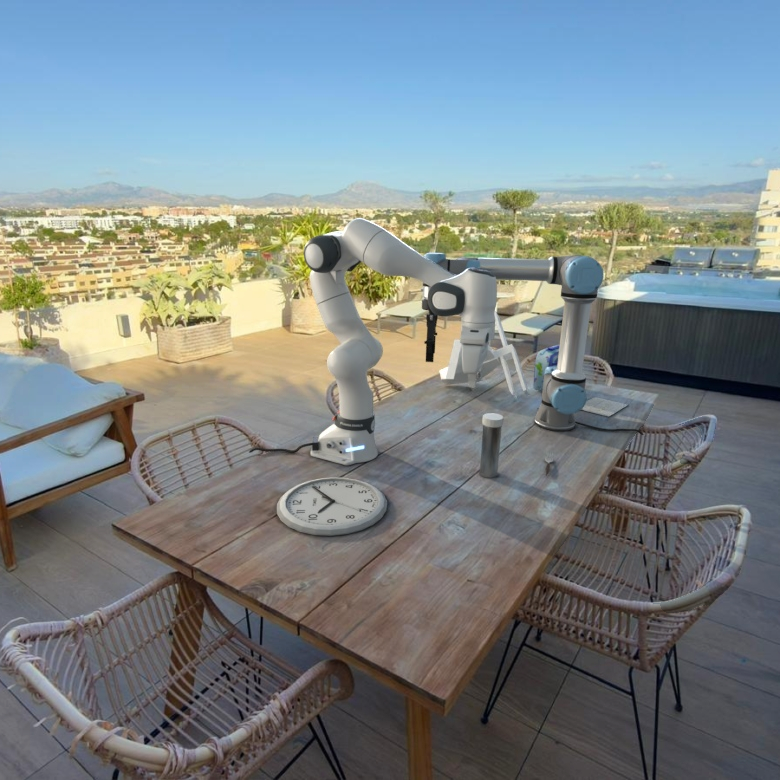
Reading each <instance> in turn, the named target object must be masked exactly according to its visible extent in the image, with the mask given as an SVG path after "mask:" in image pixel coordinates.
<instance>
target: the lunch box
mask: <svg viewBox="0 0 780 780" xmlns="http://www.w3.org/2000/svg"><path fill="white" fill-rule="evenodd" d="M559 346H560V344H556V345H553V346H549V347H546V348H544V349H541V350H539V351H538V353H537V354H536V357H535V361H534V371H533V372H534V373H533V389H534V390H535V391H539V392H543V382H544V373H545V369H546V368H547V367H553V366H557V364H558V355H559Z"/></svg>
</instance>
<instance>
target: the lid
mask: <svg viewBox="0 0 780 780" xmlns="http://www.w3.org/2000/svg"><path fill="white" fill-rule="evenodd" d="M481 418H482V421H481V423H482V426H483V425H485V426H488V427H501V426H503V425H504V416H503V415H502V414H500V413H496V412H495V413H492V412H487V413H484V414H483V415H482V417H481ZM501 428H502V427H501Z"/></svg>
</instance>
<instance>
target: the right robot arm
mask: <svg viewBox="0 0 780 780" xmlns="http://www.w3.org/2000/svg"><path fill="white" fill-rule="evenodd" d="M423 256H424V257H426V258H427V259H429V260H431V261H433V262H434V263H436V264H438V265H439V266H441V267H443V268H444V269H446V270H448V271H449V272H451V273H453V274H455V275H459V274H461V273H463V272H464V271H465V270H466V269H468V268H481V269H486V270H489V271H491V272H492V273H493V274H494V275H495V277H496V281H497V280H499V281H500V280H501V281H526V282H527V281H531V282H546V283H547V284H548V285H557V286H561V289H560V298H561V299H562V300H563V303H564V305H563V313H562V322H561V330H560V339H559V345H560V346H559V355H558V364H557V366H553V367H547V368H546V369H545V373H544V382H543V391H541V392H542V394H541V402H540V405H539V407H537V409H536V413H535V417H534V424H535V425H536V426H537V427H539V428H542V429H544V430H549V431H556V432H567V431H572V430H574V429H575V428H576V425H579V426H582V427H586V428H588V429H593V430H598V431H603V432H636V433H638V434H640V435H641V436H644V433H643V432H642V431H641V430H639V429H636V428H603V427H598V426H593V425H590V424H586V423H583V422H581V421H580V422H579V421H576V418H575V417H576V416H575V414H576V413H579V412H580V411H582V410H581V409H582V408H583V407H584V406H585V404H586V401H588V397H587V392H586V389H585V388H586V383H587V382H586V381H587V375H586V374H585V373H584V371H583V369H584V361H585V355H586V347H587V339H588V338H587V337H588V330H589V324H590V318H591V317H590V316H591V308H592V303H593V302H594V301H596V300H597V298H598V294H599V293H598V291H599V288H601V285H602V284H603V281H604V269H603V267H602V265H601V264H600V262H599V261H597V260H596V259H595V258H594V257H592V256H587V255H581V254H574V255H573V254H572V255H565V256H551V257H549V258H548V259H545V258H544V259H543V258H542V259H541V258H540V259H539V258H501V257H500V258H497V257H496V258H495V257H494V258H492V257H466V256H460V257H457V258H455V259H451V258H449V259H448V258H447V257H446V253H444V252H427V253H425V254H424V255H423ZM430 288H431V287H430V286H429V285H427V284H425V283H424V282H422V288H420V292H421V293H422V294H421V296H422V299H421V309H422V310H423V311H428V313H426V316H425V320H426V340H424V342H423V343H424V344H425V362H426V363H434V359H435V357H434V356H435V353H436V338H437V337H436V336H438V332H437V329H436V328H437V324H438V318H439V316H438V315H436V314H434V313H433V312H432V311H431V309H430V307H429V305H428V292H429V290H430Z"/></svg>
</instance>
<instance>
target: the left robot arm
mask: <svg viewBox="0 0 780 780" xmlns="http://www.w3.org/2000/svg"><path fill="white" fill-rule="evenodd" d="M303 258H304V262H305V265H307V268H309V269H310V270H311V271H310V273H309V283H310V288H311V292H312V295H313V298H314V301H315V304H316V305H317V306H316V307H317V310H318V312H319V314H320V316H321V319H322V322H323V324H324V326H325V328H326V329H327V330H328V332H330V333H332V334H333V335H334V336H335V338H336V339H337V341H338V342H339V344H338V345H337V346H336V347H335V348H334V349H333V350H332V351H331V352H330V353H329V354H328V356H327V360H326V367H327V369H328V371H329V373H330V374H331V376H332V377H334V379H335V382H336V385H337V390H338V402H339V404H338V407H339V410H338V411H337V412H336V413H335V414H334V415H333V417H332V418H331V419H332V422H334V423H333V424H331V425H330V426H328V427H327V428H325V429H324V430H323V431H321V433H320V434H319V436H314V437H312V440H311V441H312V442H308V443H303V444H301V445H299V446H298V447H297V448H295V449H292V450H291V449H287V448H263V447H252V448H251V449H250V450H249V451H248V453H249V454H250V453H253V452H254V451H261V452H267V453H268V452H269V453H270V452H286V453H289V454H291V453H292V454H294V453H298V452H299V451H300V450H301V449H303V448H305V447H310V446H311V449H310V456H311V457H313V458H317V459H321V460H325V461H329V462H333V463H336V464H339V465H344V466H350V465H354V464H360V463H365V462H369V461H372V460H374V459H375V458H377V457H378V455H379V451H378V449H377V443H376V439H375V438H376V437H375V430H376V429H375V428H376V427H375V426H376V420H375V418H376V417H375V412H374V390H373V389H372V387H370V384H369V379H368V371H369V370H371V369H372V368H374V367H376V365H378V363H379V362H380V360H381V359H382V357H383V354H384V348H383V345H382V343H381V341H380V340H379V339H378V338H377V337H375V336H374V335H373V334H372V333H371V331H370V330H369V328H368V327H367V326H366V324H365V323H364V321H363V320H362V317H361V315H360V314H359V311H358V309H357V307H356V304H355V301H354V300H353V296H352V294H351V291H350V289H349V286H348V285H347V282H346V273H347V272H350V273H351V272H353V271H354V269H356V267H358V265H360V264H362V263H363V264H364V265H366V266H367V267H368V268H370V269H371V270H372V271H375V272H376V273H379V274H381V275H384V276H390V277H405V278H406V277H407V278H413V279H415V280H418V281H420V282H421V283H423V282H424V283H425V284H427V285H429V286H430V287H431V288H430V290H429V292H428V305H429V307H430V309H431V311H432V312H433V313H434V314H436V315H438V317H442V318H450V317H452V316H453V317H454V316H459V317H460V336H459V339H460V343H463V344H462V367H463V372H464V373H465V374H468V384H467V386H468V388H471V389H472V388H473V389H474V388H475V387H476V385H477V383H476V378H480V377H481V370H482V365H483V363H484V361H485V359H486V358H487V351H488V345H490V341H492V340H495V334H496V333H495V332H496V321H495V315H494V311H496V307H497V302H498V301H497V300H498V283H497V280H496V277H495V275H494V274H493V273H492V272H491V271H489V270H486V269H481V268H468V269H466V270H465V271H464V272H463V273H461V274H459V275H455V274H453V273H451V272H449V271H448V270H446V269H444V268H443V267H441V266H439V265H438V264H436V263H434V262H433V261H431V260H429V259H427V258H426V257H424V255H422V254H421V253H419V252H418V251H417V250H415V249H413V247H410V245H407V244H406V243H405V242H404V241H402V240H401V239H399V238H398V237H397V236H395V235H394V234H392V233H391V232H390V231H388V230H387V229H385V228H383V227H382V226H380V225H378V224H377V223H374V222H372V221H370V220H367V219H366V218H365V219H364V218H362V217H357V218H354V219H351V220H350V221H349V222H348V223H347V224H346V225H345V227H344V228H343V230H337V231H331V232H329V233H325V234H319V235H316V236H314V237H312V238H310V239H309V240H307V242H306V243H305V245H304V248H303Z"/></svg>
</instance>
